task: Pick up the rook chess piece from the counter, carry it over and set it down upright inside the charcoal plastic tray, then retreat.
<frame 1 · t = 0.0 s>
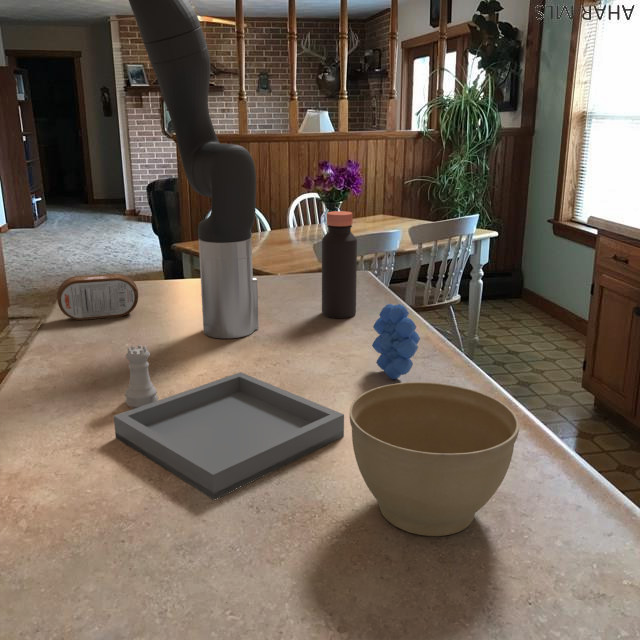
bottle: (338, 314, 134), on the kitchen island
planter bowl: (427, 512, 69), on the kitchen island
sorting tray: (230, 437, 84), on the kitchen island
grapes: (398, 378, 103), on the kitchen island
tin: (100, 318, 132), on the kitchen island
rook chess piece: (142, 403, 94), on the kitchen island
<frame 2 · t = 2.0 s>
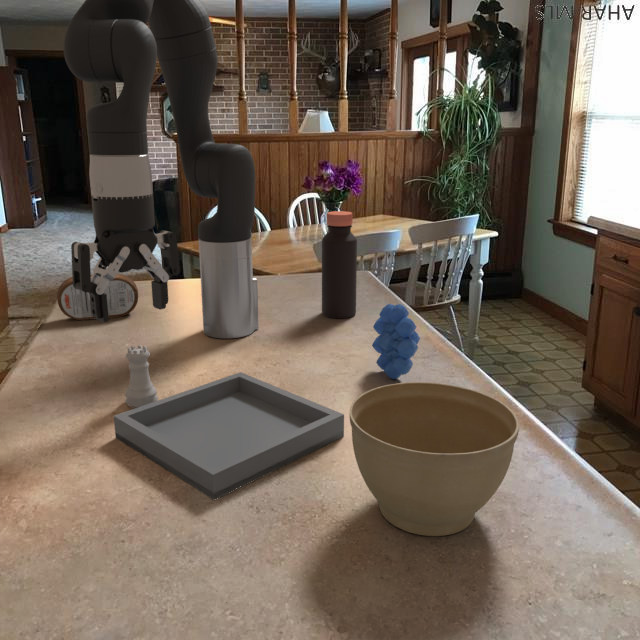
hand: (131, 314, 90), 13 cm above the kitchen island, tool pointing down, fingers open, 8 cm apart
nothing on the kitchen island moved.
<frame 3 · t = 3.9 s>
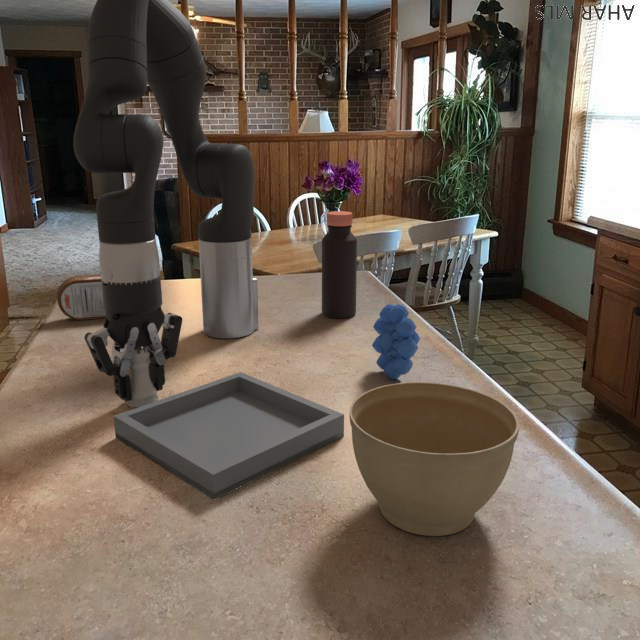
hand: (141, 393, 94), 1 cm above the kitchen island, tool pointing down, fingers closed on rook chess piece, 4 cm apart
rook chess piece: (142, 403, 94), on the kitchen island, touching gripper
everything else where it was.
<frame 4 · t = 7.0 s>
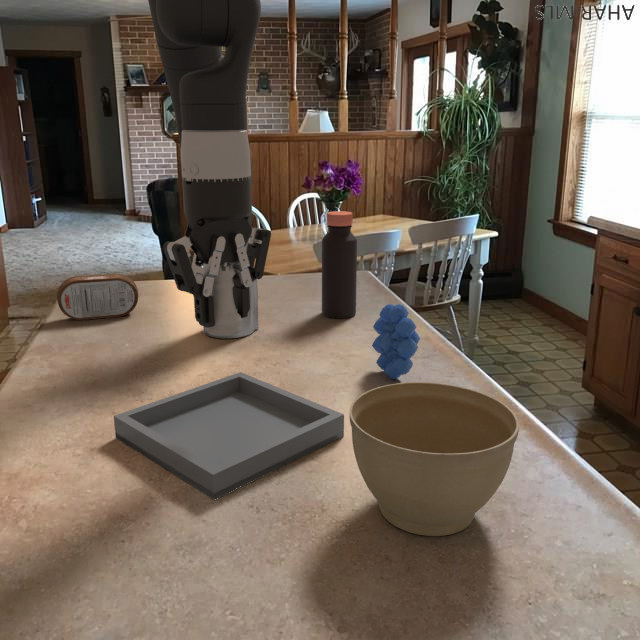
hand: (223, 320, 79), 15 cm above the kitchen island, tool pointing down, fingers closed on rook chess piece, 4 cm apart
rook chess piece: (223, 332, 80), point 14 cm above the kitchen island, touching gripper
everything else where it was.
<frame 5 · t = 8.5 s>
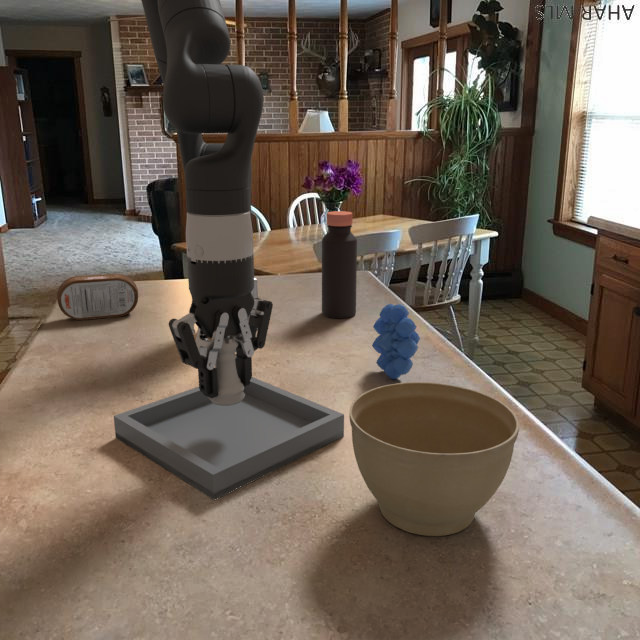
hand: (226, 389, 82), 6 cm above the kitchen island, tool pointing down, fingers closed on rook chess piece, 4 cm apart
rook chess piece: (227, 400, 83), point 5 cm above the kitchen island, touching gripper
everything else where it was.
when the fingers open (4 cm above the kitchen island, at t = 9.9 s): rook chess piece drops 1 cm, resting on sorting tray.
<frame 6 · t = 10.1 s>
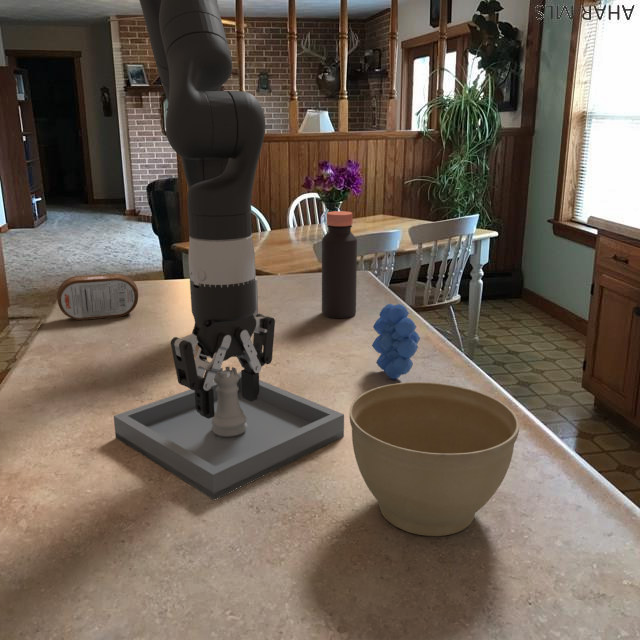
hand: (228, 407, 83), 4 cm above the kitchen island, tool pointing down, fingers open, 6 cm apart
rook chess piece: (229, 431, 84), point 1 cm above the kitchen island, touching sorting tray
everything else where it was.
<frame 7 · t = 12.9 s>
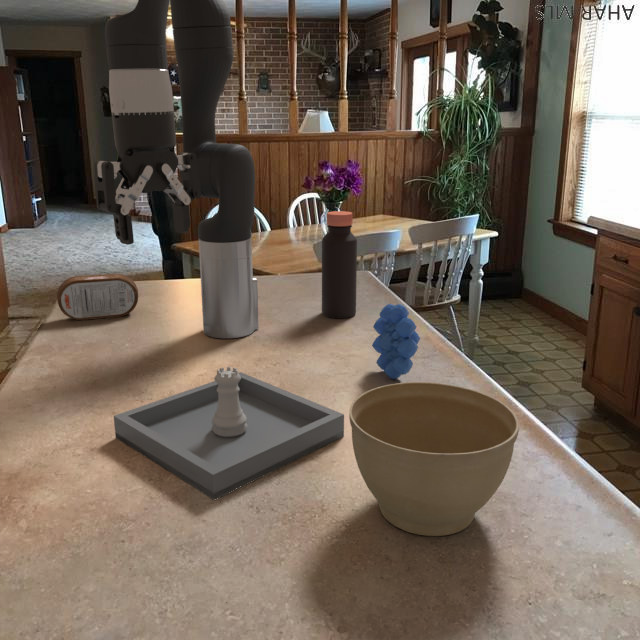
hand: (155, 237, 89), 23 cm above the kitchen island, tool pointing down, fingers open, 8 cm apart
nothing on the kitchen island moved.
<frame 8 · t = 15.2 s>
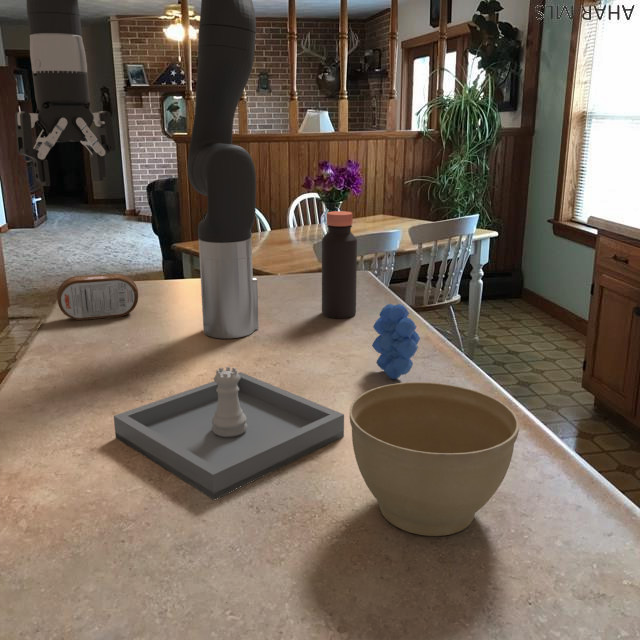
hand: (72, 183, 103), 28 cm above the kitchen island, tool pointing down, fingers open, 8 cm apart
nothing on the kitchen island moved.
at the end: rook chess piece inside the target area on the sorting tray (0.1 cm from its centre), point 0.6 cm above the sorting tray's base; rook chess piece tilted 0°; the gripper is holding nothing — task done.
